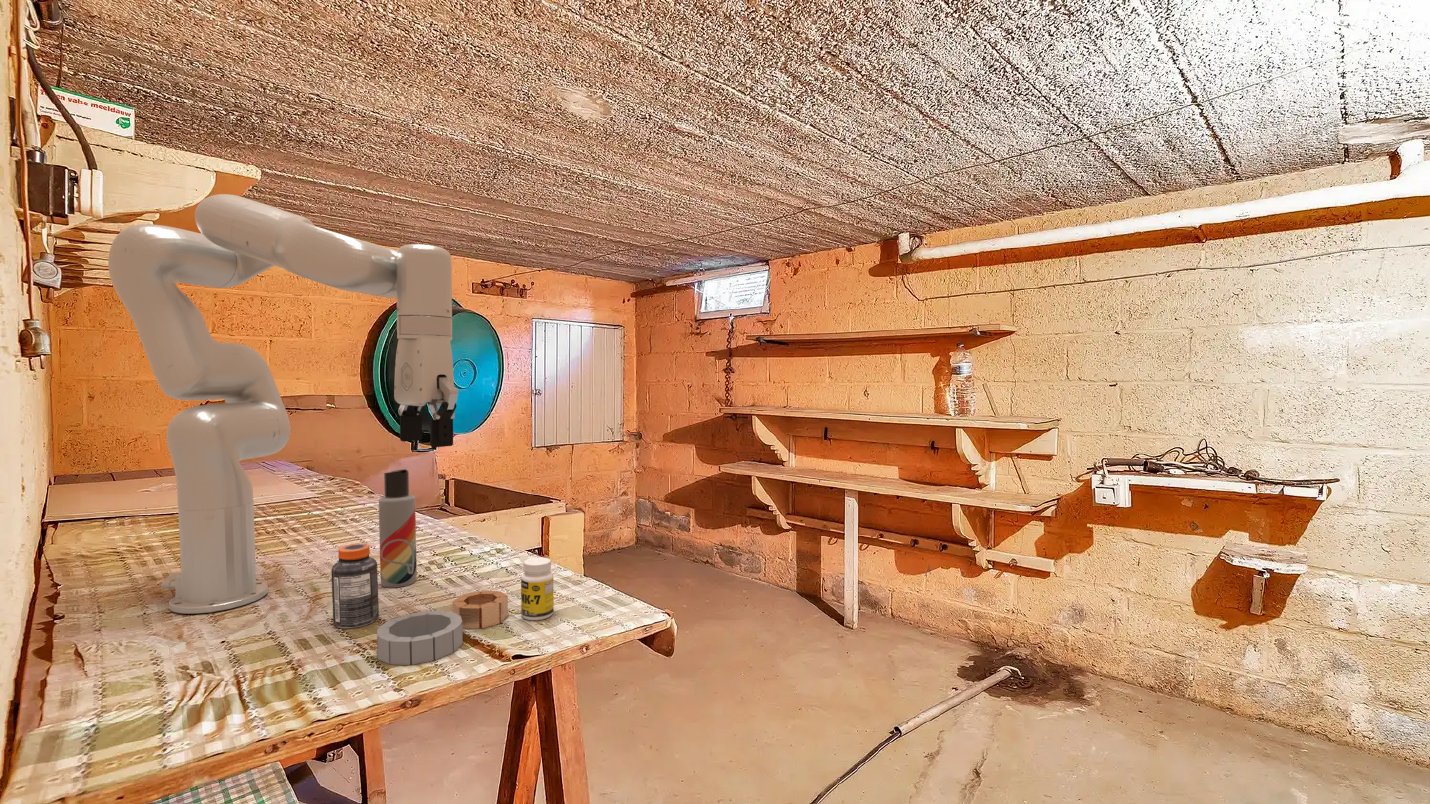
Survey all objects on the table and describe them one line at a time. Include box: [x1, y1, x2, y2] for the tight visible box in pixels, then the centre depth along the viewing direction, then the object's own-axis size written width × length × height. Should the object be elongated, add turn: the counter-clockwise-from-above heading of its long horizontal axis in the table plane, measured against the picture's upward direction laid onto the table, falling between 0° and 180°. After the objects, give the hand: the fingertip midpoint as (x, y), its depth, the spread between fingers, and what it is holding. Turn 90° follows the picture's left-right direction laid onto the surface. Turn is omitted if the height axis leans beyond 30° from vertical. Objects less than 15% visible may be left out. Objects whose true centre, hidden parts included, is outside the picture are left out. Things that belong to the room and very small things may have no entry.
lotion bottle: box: [378, 468, 418, 589], centre depth 111 cm, size 6×6×20 cm
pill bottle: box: [330, 543, 380, 629], centre depth 95 cm, size 6×6×11 cm
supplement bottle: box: [520, 556, 555, 621], centre depth 97 cm, size 5×5×8 cm
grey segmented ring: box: [376, 610, 464, 666], centre depth 86 cm, size 10×10×3 cm
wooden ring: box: [452, 590, 509, 630], centre depth 96 cm, size 7×7×3 cm
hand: (426, 443), depth 97 cm, fingers open, 9 cm apart
